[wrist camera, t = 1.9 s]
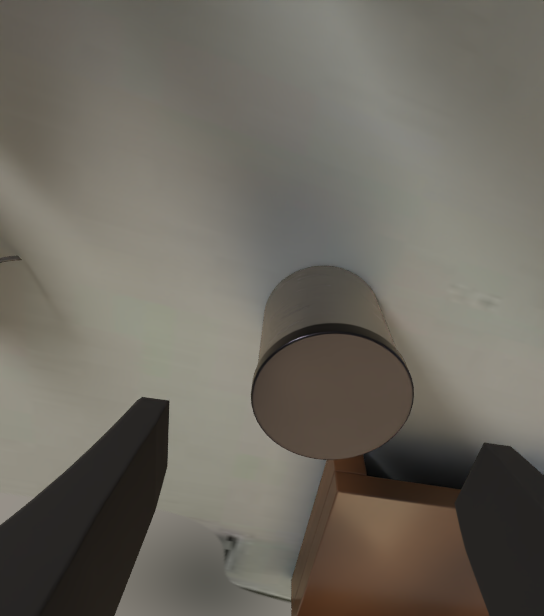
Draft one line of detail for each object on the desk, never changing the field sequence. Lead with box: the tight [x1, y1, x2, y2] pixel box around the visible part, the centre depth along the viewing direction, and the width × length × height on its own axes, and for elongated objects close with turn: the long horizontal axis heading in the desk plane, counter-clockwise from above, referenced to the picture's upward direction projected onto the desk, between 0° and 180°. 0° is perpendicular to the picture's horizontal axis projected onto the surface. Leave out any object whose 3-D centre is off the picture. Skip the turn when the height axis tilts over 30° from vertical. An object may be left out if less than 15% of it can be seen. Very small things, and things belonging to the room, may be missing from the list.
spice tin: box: [251, 266, 414, 460], centre depth 16 cm, size 5×5×6 cm
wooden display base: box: [291, 455, 489, 616], centre depth 23 cm, size 16×12×5 cm
